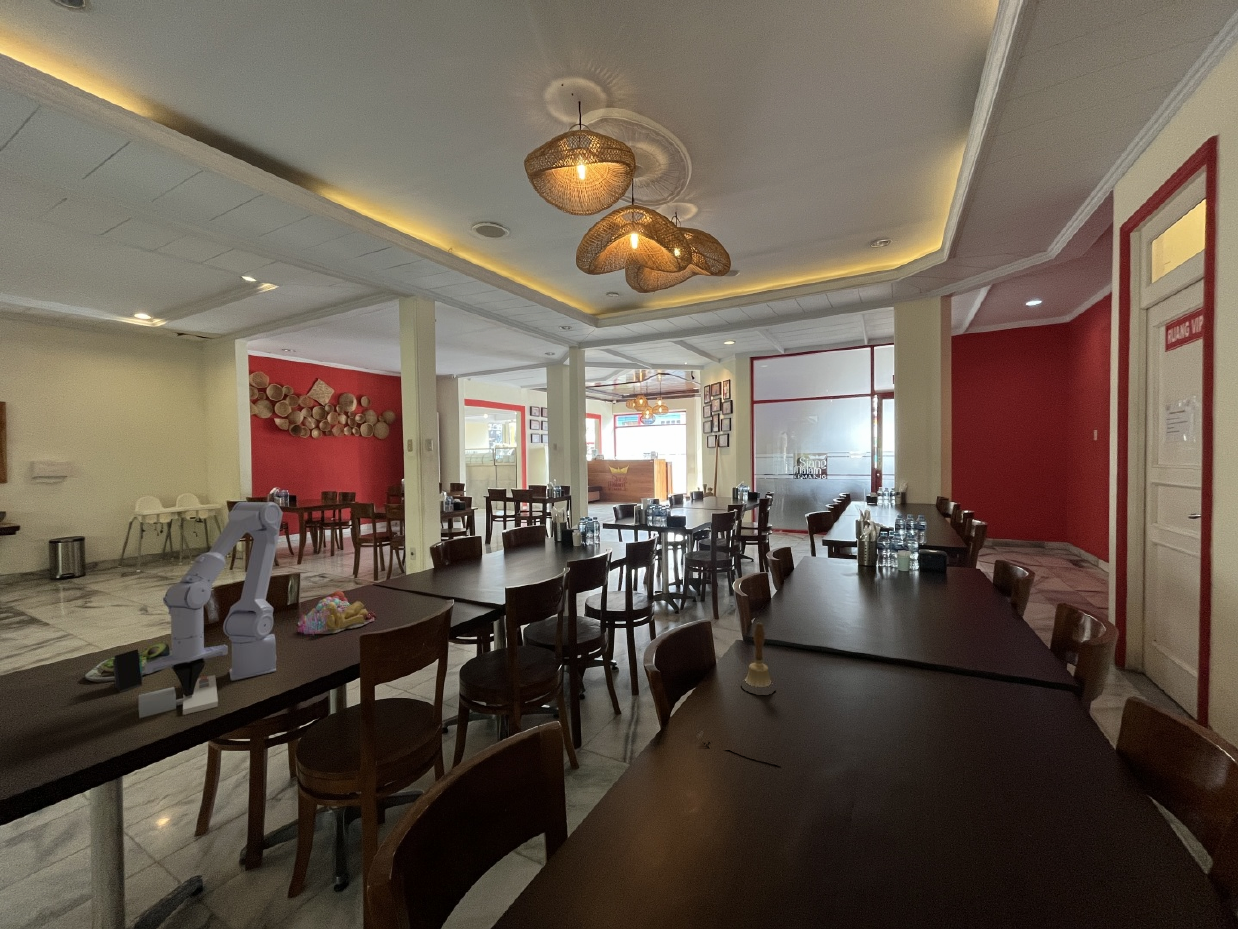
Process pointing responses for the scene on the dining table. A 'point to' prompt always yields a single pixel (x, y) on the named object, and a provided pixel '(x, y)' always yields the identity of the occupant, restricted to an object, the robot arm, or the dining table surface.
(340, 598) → the candy landscape model
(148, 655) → the salad plate
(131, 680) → the speaker
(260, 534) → the robot arm
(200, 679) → the power strip
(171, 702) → the charger
